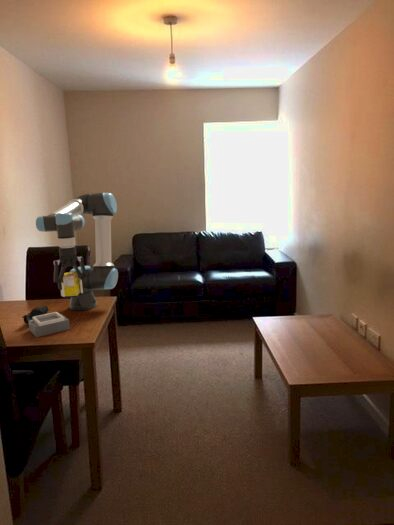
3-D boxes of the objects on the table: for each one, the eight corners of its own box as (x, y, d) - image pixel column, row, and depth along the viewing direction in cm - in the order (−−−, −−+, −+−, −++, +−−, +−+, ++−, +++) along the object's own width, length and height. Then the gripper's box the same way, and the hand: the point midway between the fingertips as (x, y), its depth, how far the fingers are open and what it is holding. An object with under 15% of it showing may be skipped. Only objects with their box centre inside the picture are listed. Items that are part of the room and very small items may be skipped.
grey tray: (61, 323, 218) (60, 310, 217) (69, 329, 208) (68, 316, 207) (29, 330, 209) (28, 317, 208) (36, 337, 199) (34, 324, 198)
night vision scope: (46, 320, 231) (57, 309, 228) (27, 332, 214) (39, 321, 211) (36, 309, 231) (47, 298, 228) (16, 321, 214) (28, 309, 211)
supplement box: (80, 293, 203) (78, 271, 201) (77, 297, 197) (75, 274, 195) (67, 294, 203) (65, 272, 200) (64, 298, 197) (61, 275, 195)
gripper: (85, 242, 204) (90, 288, 209) (41, 248, 192) (47, 297, 197) (91, 244, 198) (96, 291, 203) (46, 250, 186) (52, 300, 191)
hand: (72, 294), depth 200 cm, fingers closed on supplement box, 8 cm apart
